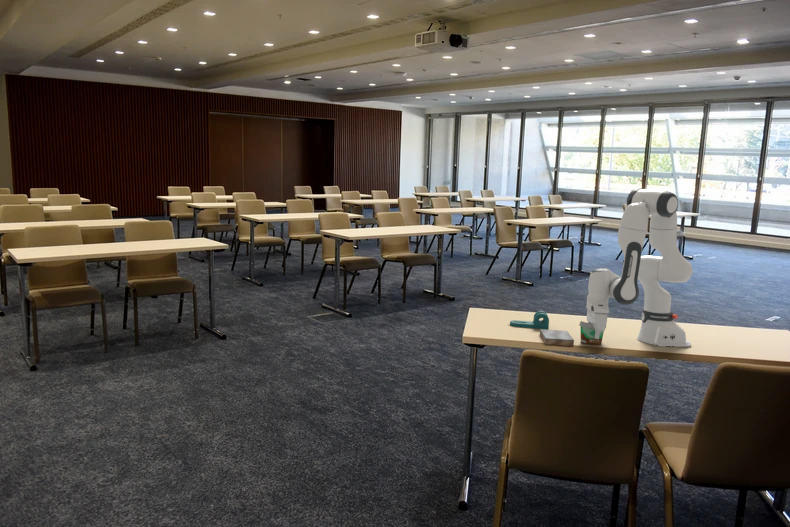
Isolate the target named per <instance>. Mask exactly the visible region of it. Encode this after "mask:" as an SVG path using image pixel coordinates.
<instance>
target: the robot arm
mask: <svg viewBox="0 0 790 527" xmlns="http://www.w3.org/2000/svg"><path fill="white" fill-rule="evenodd" d="M678 208H679V199H678V197H677V194H675V193H673V192H671V191H667V190H661V189H656V188H654V189H652V188H651V189H650V188H634V189H633V190H631V191H630V192H629V194H628V195H627V197H626V207H625V208H624V211H623V213H622V217H621V219H620V223H619V228H618V232H617V243H618V245H619V247H620V249H621V251H622V253H623V264H622V270H621V276H620V275H618V274H616V273H614V272H613V271H611V270H610V269H609V268H605V267H604V268H602V267H601V268H600V267H599V268H594V269H593V270H592V271H590V274H589V278H588V285H587V289H588V294H587V296H586V297H587V298H586V305H585V306H586V307H585V308H586V309H587V310H586V311H587V312H586V322H587V323H588V322H590V323H593V327H594V328H595V334H594V338H595V339H599V335H600V332H601V331H604V332H605V331H606V328H607V322H608V314H609V313H610V307H609V299H610V298H613V299H614V300H615V301H616V302H617V303H618V304H620V305H623V306H627V305H632V304H633V303H635V302H636V301H637V299H638V298H639V296H640V289H639V283H638V281H639V282H640V284H641V286H642V289H643V293H644V294H643V295H644V300H643V302H644V303H643V309H642V313H641V324H640V329H639V332H638V335H637V337H636V340H637V341H639V342H641V343H644V344H649V345H654V346H656V345H658V346H657V347H666V346H671V347H672V346H674V347H679V348H681V347H687V348H689V347H691V346H692V343H691V341H689V340H688V339H687V335H686V331H685V330H684V329H683V328H682V326H680V325H679V324H678V323H677V322H676V321H674V320H678V318H679V316H678V314H677V313H672V312H671V307H672V295H671V293H670V292H669V291H668V290H666V289H665V288H663V287H662V286H661V285H660V282H664V283H675V284H677V283H678V284H679V283H686V282H688V281H689V280H690V279H691V278H692V276H693V266H692V263H691V262H690V261H688V260H687V259H686V258H685V257H684V256H683V254H682V253H681V251H680V250H679V247H678V241H677V240H678V238H677V234H678V232H677V231H678V214H677V209H678ZM649 217H650V219H649ZM649 220H650V222H649ZM648 225H649V226H648ZM648 227H649V233H648V234H649V235H648V236H649V237H648V243H649V245H650V246H651V247H652V248H653V249H655V250H657V252H659V253H660V254H661V256H660V255H658V256H656V255H649V254H648V255H647V254H646V255H645V254H644V255H642V252H643V247H644V245H645V244H644V242H645V239H646V236H647V231H648ZM671 347H670V348H671ZM672 348H673V347H672Z"/></svg>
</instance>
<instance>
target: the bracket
mask: <svg viewBox="0 0 790 527" xmlns="http://www.w3.org/2000/svg"><path fill="white" fill-rule="evenodd" d="M509 325H510V326H512V327H515V328H527V329H538V330H540V329H545V330H550V329H549V327H550V319H549V316H548V313H547V312H546V311H544V310H538V311H536V312H535V313H534V314H533V321H531V320H530V321H529V320H515V319H514V320H510V321H509Z"/></svg>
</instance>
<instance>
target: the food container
mask: <svg viewBox="0 0 790 527" xmlns="http://www.w3.org/2000/svg"><path fill="white" fill-rule="evenodd" d="M578 326H580V343H581V344H583V345H589V346H601V345H602V343H603V337H604V332H605V331H601V332H600V335H599V339H595V338H594V334H595V328H594V327H593V323H590V322H588V321H586V322H585V321H582V320H581V321H580V322H579V325H578Z"/></svg>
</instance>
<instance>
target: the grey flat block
mask: <svg viewBox="0 0 790 527" xmlns="http://www.w3.org/2000/svg"><path fill="white" fill-rule="evenodd" d="M539 336H540V338H541V339H542V340H543V342H544V345H554V346H571V347H574V345H575V344H574V343H575V339H574V338H573V337H572V336H571V334H570V333H569V332H568V330H559V329H548V330H547V329H539Z"/></svg>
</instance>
